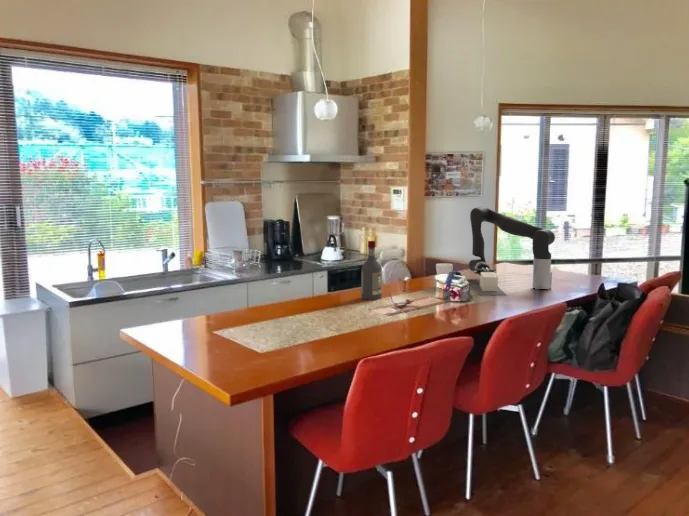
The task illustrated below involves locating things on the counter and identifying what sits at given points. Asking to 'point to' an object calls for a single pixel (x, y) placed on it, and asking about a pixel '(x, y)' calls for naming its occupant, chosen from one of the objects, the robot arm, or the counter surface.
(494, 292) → the rubber mat
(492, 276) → the off-white cube
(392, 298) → the counter surface
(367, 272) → the liquor
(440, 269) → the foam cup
